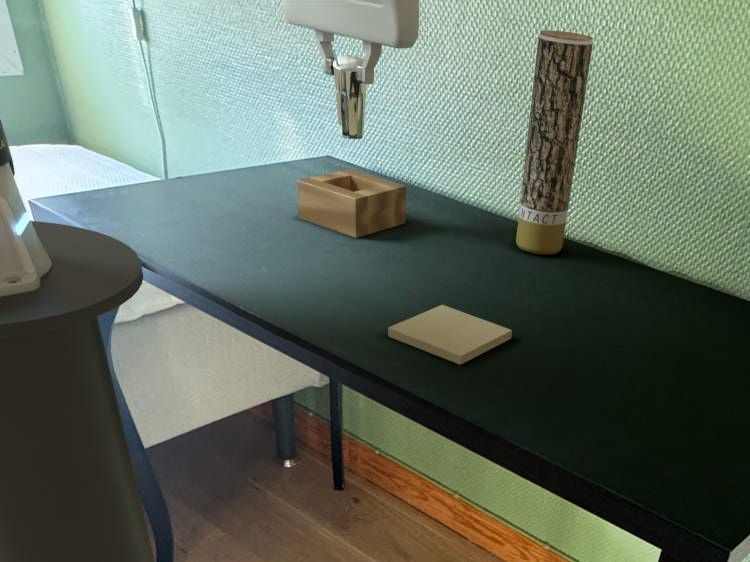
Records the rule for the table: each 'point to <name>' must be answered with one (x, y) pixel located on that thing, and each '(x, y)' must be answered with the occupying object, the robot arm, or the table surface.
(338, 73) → the milkshake
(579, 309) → the table surface
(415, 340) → the mat
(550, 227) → the paper tube
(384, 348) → the table surface
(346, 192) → the holder
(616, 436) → the table surface
